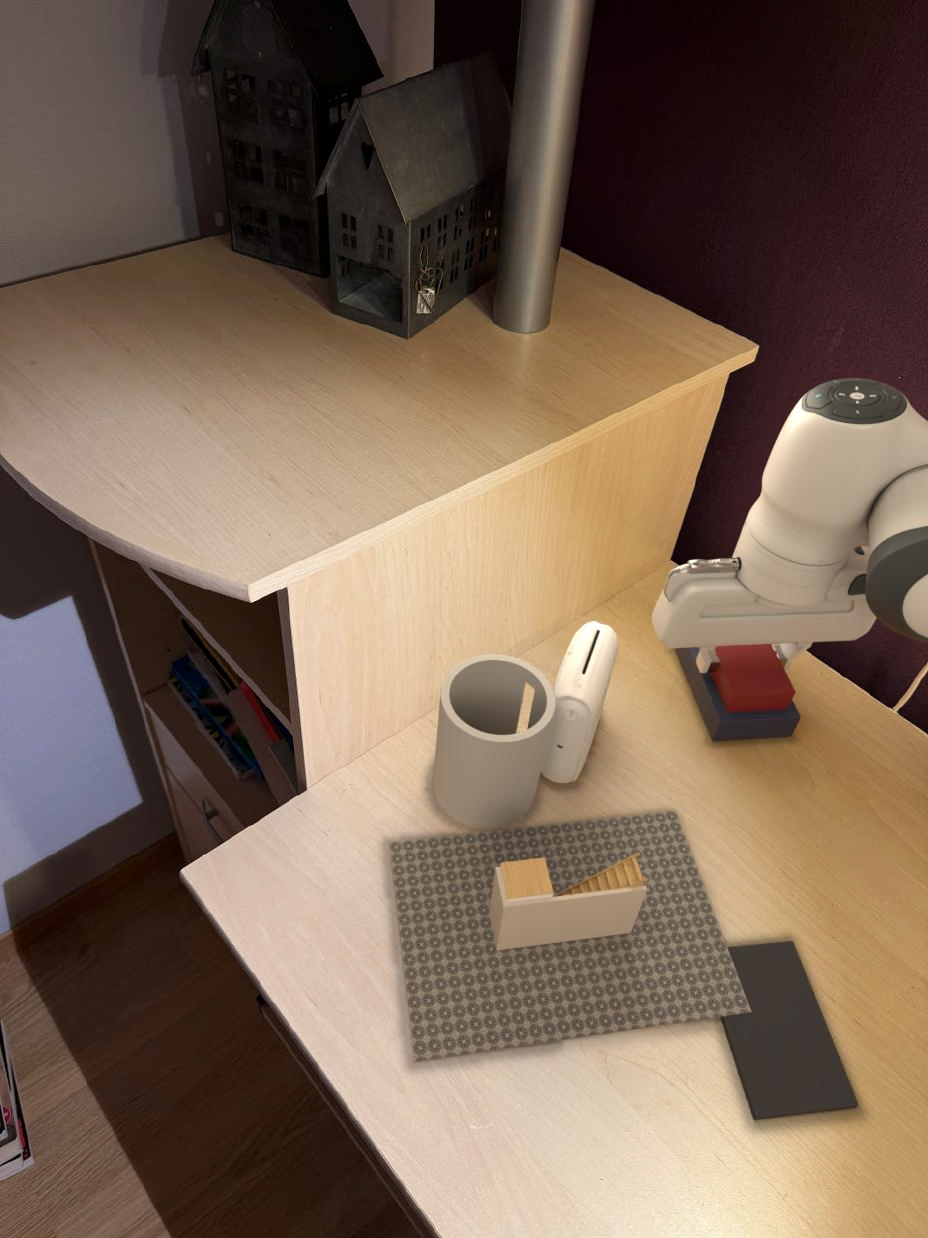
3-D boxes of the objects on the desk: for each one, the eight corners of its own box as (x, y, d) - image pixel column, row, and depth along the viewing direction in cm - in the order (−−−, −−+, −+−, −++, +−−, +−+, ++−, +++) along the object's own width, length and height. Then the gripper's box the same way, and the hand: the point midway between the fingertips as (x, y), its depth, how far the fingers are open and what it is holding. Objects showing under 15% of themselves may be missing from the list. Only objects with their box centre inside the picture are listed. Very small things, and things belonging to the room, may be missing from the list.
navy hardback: (674, 649, 94) (681, 629, 92) (747, 646, 95) (755, 626, 93) (711, 742, 86) (720, 721, 84) (791, 737, 87) (801, 717, 85)
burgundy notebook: (693, 636, 91) (700, 618, 90) (750, 633, 92) (757, 616, 91) (726, 712, 84) (734, 695, 83) (787, 709, 85) (796, 692, 84)
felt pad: (790, 944, 72) (793, 940, 71) (856, 1108, 63) (859, 1105, 63) (699, 952, 70) (701, 949, 70) (753, 1121, 62) (756, 1118, 62)
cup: (419, 811, 78) (425, 722, 69) (450, 732, 84) (460, 642, 76) (521, 842, 76) (540, 755, 68) (545, 759, 83) (566, 671, 74)
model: (489, 911, 71) (496, 860, 66) (619, 895, 73) (636, 844, 68) (496, 950, 69) (504, 901, 64) (630, 933, 71) (649, 883, 65)
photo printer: (576, 792, 80) (602, 701, 72) (530, 776, 81) (550, 685, 73) (603, 709, 87) (629, 618, 79) (560, 696, 88) (581, 604, 80)
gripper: (683, 586, 74) (647, 696, 84) (912, 578, 77) (851, 685, 87) (662, 537, 79) (629, 647, 88) (879, 531, 82) (825, 638, 91)
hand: (741, 666), depth 88 cm, fingers closed on burgundy notebook, 6 cm apart
